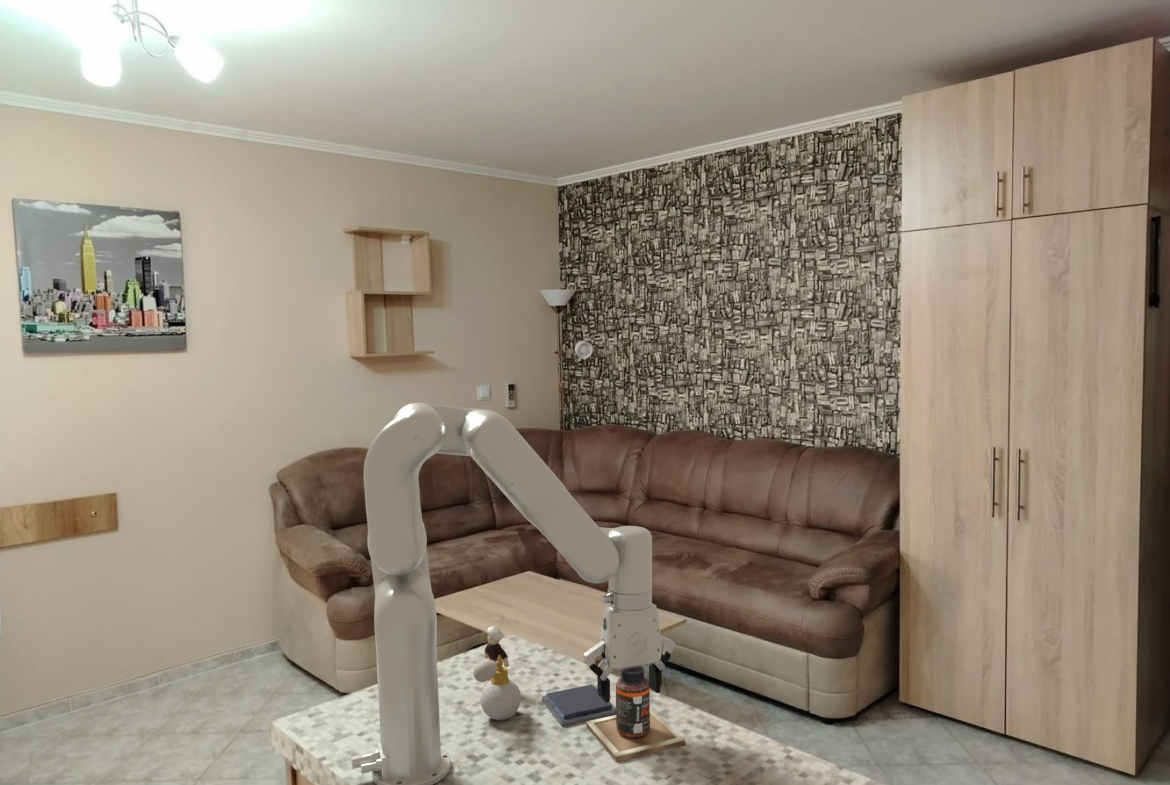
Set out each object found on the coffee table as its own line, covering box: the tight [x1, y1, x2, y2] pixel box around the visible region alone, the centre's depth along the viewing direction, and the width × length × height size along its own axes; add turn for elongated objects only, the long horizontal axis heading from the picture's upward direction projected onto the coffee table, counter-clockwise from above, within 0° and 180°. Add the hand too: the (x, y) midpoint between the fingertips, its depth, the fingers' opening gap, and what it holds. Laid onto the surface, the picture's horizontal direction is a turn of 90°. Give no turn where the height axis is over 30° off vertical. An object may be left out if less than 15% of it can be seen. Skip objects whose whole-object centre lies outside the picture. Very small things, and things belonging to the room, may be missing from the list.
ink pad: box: [541, 683, 616, 727], centre depth 149 cm, size 11×11×2 cm
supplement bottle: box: [615, 666, 651, 738], centre depth 137 cm, size 6×6×11 cm
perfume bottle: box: [472, 655, 522, 721], centre depth 145 cm, size 8×10×12 cm
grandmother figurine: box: [483, 625, 510, 688], centre depth 158 cm, size 8×4×13 cm, turn 55°
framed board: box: [585, 706, 686, 763], centre depth 138 cm, size 13×13×1 cm
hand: (629, 694), depth 137 cm, fingers open, 9 cm apart
